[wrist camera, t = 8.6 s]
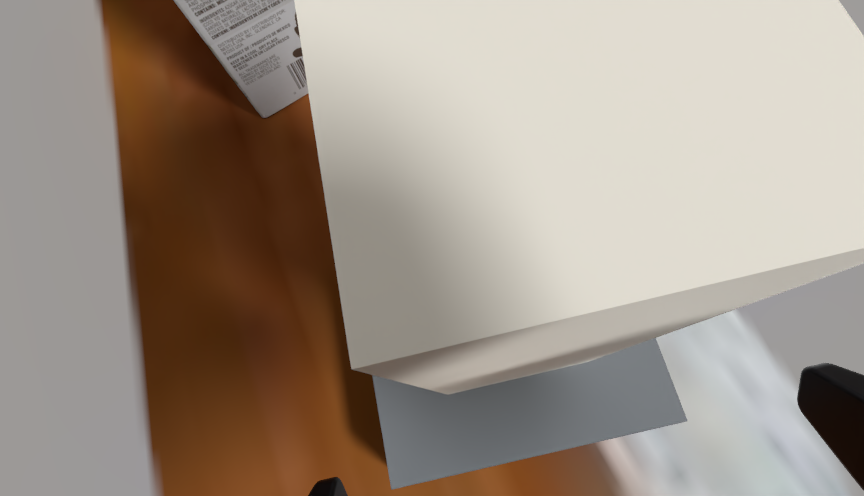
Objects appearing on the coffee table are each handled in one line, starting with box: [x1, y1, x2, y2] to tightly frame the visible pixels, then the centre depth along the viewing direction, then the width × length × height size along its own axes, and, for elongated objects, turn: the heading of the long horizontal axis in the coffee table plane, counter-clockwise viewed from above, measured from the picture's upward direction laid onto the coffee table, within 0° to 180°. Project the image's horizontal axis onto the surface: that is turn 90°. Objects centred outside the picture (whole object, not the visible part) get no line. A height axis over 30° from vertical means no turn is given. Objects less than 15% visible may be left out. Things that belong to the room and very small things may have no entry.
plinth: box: [372, 338, 687, 490], centre depth 18 cm, size 10×10×2 cm
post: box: [294, 0, 864, 395], centre depth 10 cm, size 5×5×13 cm
